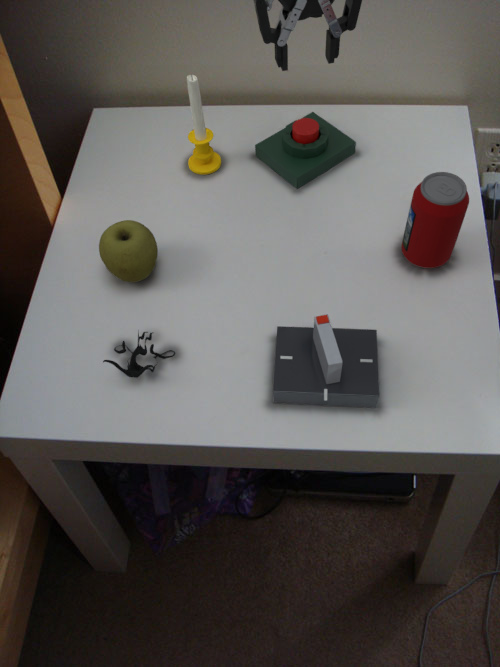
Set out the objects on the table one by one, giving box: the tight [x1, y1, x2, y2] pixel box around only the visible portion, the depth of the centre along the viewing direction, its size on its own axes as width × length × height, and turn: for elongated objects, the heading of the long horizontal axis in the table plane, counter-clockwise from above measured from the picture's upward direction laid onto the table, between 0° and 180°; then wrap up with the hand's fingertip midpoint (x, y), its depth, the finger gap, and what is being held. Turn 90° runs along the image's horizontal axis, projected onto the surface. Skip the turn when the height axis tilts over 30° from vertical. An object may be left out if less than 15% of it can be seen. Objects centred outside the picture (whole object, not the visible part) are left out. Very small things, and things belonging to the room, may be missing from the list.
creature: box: [102, 329, 176, 379], centre depth 73 cm, size 8×5×8 cm
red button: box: [292, 117, 319, 144], centre depth 90 cm, size 4×4×2 cm
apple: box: [98, 219, 159, 283], centre depth 80 cm, size 8×8×7 cm
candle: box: [186, 73, 222, 176], centre depth 88 cm, size 5×5×16 cm
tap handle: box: [313, 314, 343, 384], centre depth 68 cm, size 6×2×5 cm, turn 11°
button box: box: [254, 111, 357, 190], centre depth 92 cm, size 12×10×4 cm
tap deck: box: [272, 325, 380, 409], centre depth 71 cm, size 12×11×3 cm
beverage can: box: [400, 171, 470, 269], centre depth 77 cm, size 7×7×12 cm
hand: (306, 63), depth 81 cm, fingers open, 5 cm apart
